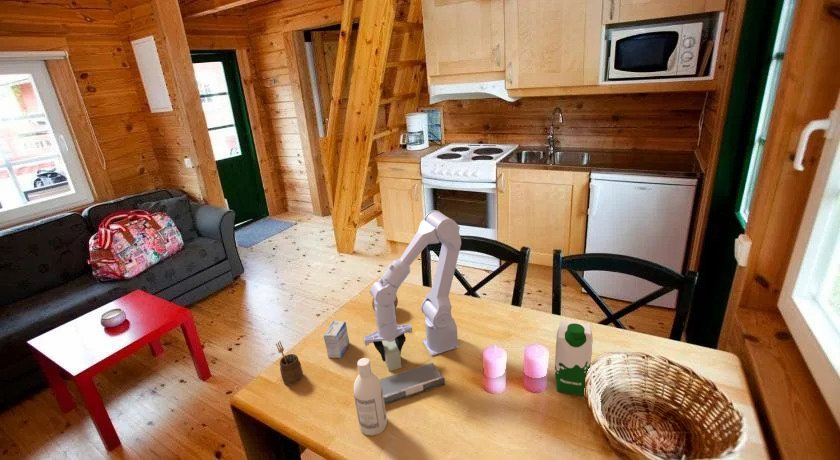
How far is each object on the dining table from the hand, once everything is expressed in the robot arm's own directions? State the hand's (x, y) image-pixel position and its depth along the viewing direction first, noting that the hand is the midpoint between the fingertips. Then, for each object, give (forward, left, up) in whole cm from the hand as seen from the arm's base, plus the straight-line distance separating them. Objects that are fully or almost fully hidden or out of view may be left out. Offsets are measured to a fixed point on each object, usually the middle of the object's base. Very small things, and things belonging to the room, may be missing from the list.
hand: (391, 357), depth 123 cm
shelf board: (-1, +11, -2) cm, 11 cm away
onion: (-6, -27, -2) cm, 28 cm away
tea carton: (0, 0, -2) cm, 2 cm away
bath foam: (+11, +21, -2) cm, 23 cm away
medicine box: (+14, -13, -2) cm, 19 cm away
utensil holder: (+29, -6, -2) cm, 30 cm away
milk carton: (-42, +30, -2) cm, 52 cm away
